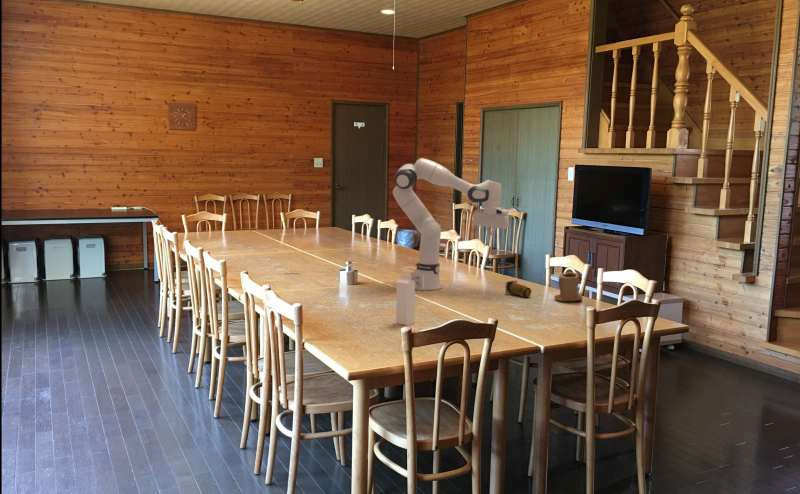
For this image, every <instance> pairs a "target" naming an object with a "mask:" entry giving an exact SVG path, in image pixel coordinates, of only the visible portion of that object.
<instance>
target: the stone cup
mask: <svg viewBox="0 0 800 494" xmlns="http://www.w3.org/2000/svg"><path fill="white" fill-rule="evenodd" d="M579 284H580V277H579V274H578V273H576V272H572V271H567V272H564V273H560V274H559V276H558V288H559V291H560V292H559V294H556V295H554V299H555V300H556V301H558V302H575V301H576V302H578V301H583V300H584V298H583V295H582V293H580V292H579V293H578V292H577V291H578V288H579V287H578V286H579Z"/></svg>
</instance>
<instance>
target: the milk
mask: <svg viewBox="0 0 800 494" xmlns="http://www.w3.org/2000/svg"><path fill="white" fill-rule="evenodd" d="M395 288H396V292H395V293H396V295H395V296H396V298H395V300H396V306H395V310H396V313H395V323H396V324H397V323H399V325H402V324H404V325H403V326H409V325H412V324H415V306H416V305H415V303H416V295H415V294H416V289H415V281H413V280H412V279H411V276H410V275H409V274H403V273H401V274H400V278H398V280H397V281H396V287H395Z"/></svg>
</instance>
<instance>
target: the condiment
mask: <svg viewBox="0 0 800 494" xmlns="http://www.w3.org/2000/svg"><path fill="white" fill-rule="evenodd" d="M504 290H505V291H504V295H505V296H506V295H507V296H508V295H512V294H513V295H516V296H519V297H521V298H529V297H531V294H532V289H531V288H530V287H528V286H526V285H523V284H520V283H518V280H510V281H506V282H505V289H504Z"/></svg>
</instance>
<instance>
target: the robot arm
mask: <svg viewBox="0 0 800 494" xmlns="http://www.w3.org/2000/svg"><path fill="white" fill-rule="evenodd" d="M420 179H421V180H424V181H427V182H429V183H431V184H432V185H435V186H440V187H448V188H452V189H454V190H456V191H459V192H461V193H463V194H465V196H467V198H468V200H469V201H470V202H472V203H474V204H479V203H484V204H483V208H476V209H475V210H474V216H473V221H472V223H473V225H474V226H479V227H485V231H486V235H487V236H491V237H493V236H494V233H495V232H496V229H504V230H505V229H506V230H507V229H509V227H510V216H509V210H508V209H507V208H506V209H505V208H504V207H501V205H502V204H501V199H502V188H503V187H502V183H501V182H499V181H498V180H496V179H491V178H489V179H487V180H485V181H483V182H481V183H470V182H468V181H466V180H464V179H462V178H460V177H458V176H456V175H455V174H454V173H453V172H451V171H450V170H449V169H448V168H446V167H445V166H443V165H441V164H440V163H437V162H435V161H433V160H431V159H428V158H424V157H421V158H419V159H417V160H416V162H414V163H412V162H406V163H404V164H403V165H402V166H401V167H399V169H398V170H397V172H396V173H395V174H394V183H395V187H394V188H393V190H392V195H393V197H394V199H395V201H396V203H397V204H398V206H399V207H400V209H402V211H403V212H404V214H405V215H406V216H407V218H408V219H409V221H410V222H411V223H412V224H413V226H414V227H415V228H416V229H417V231H418V232H419V234H420V242H419V249H418V250H419V255H418V256H419V259H418V263H417V262H416V263H415V267H416V269H414V270H413V271H412V272H410V273H409V274H408V275H410V276H411V279H412V280H413V281H415V290H418V291H431V290H434V291H436V290H440V289H441V288H442V286H441V281H440V260H439V259H440V246H441V235H442V227H441V224H440V223H439V222H437V220H435V219H434V217H433V216H432V214H431V213H430V211H429V210H428V209H427V207H426V206H425V205H424V203H423V201H421V199H420V198H419V197H418V195H417V194H416V193H415V191H414V190H413V185H414V184H415V183H416V182H417V180H420ZM490 228H491V231H490Z"/></svg>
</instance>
